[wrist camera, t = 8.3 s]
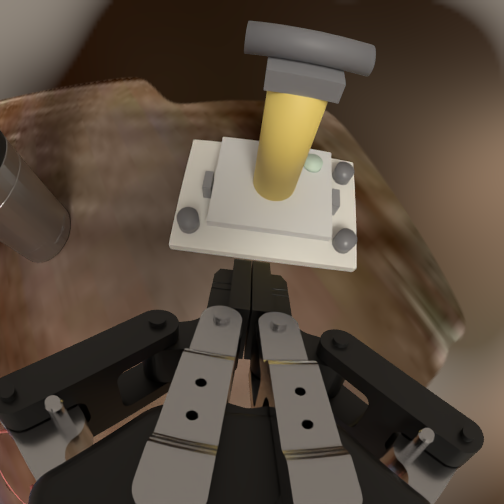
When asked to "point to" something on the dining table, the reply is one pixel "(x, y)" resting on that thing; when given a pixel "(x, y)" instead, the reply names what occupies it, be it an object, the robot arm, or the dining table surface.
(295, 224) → the yellow column stand
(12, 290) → the dining table surface
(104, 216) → the dining table surface
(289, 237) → the base
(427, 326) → the dining table surface
